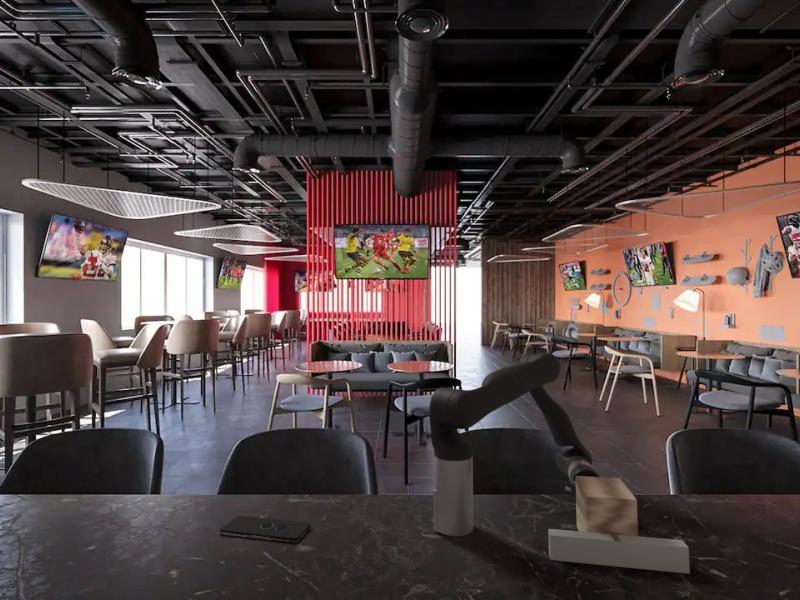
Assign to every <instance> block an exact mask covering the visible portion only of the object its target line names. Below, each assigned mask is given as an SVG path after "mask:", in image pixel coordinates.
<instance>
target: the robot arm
mask: <svg viewBox="0 0 800 600" xmlns="http://www.w3.org/2000/svg"><path fill="white" fill-rule="evenodd" d="M560 373H561V363H560V360H559V359H558V358H557V356H556V355H554V354H552V353H551V352H539V353H538V352H537V353H534V354H533V353H532V354H527V355H523V356H522V357H521V358H520V359H519V361H518V364H515V365H510V366H507V367H506V366H505V367H502V368H499V369H496V370H494V371H492V372H490V373H488V374H487V375H486V376H485V377H484V378H483V381H482V383H481V386H480V387H477V388H474V389H469V390H467V389H466V390H465V389H458V388H452V387H451V388H450V387H439V388H437V389H436V390H435V391H434V392H433V393H432V396H431V398H430V402H429V408H428V409H429V411H428V412H429V413H428V414H429V429H430V440H431V441H430V442H431V446H432V448H433V456H434V457H433V458H434V459H433V461H434V462H433V463H434V464H433V465H434V467H433V468H434V469H433V470H434V473H433V474H434V478H433V479H434V488H433V490H432V496H433V497H432V499H433V500H432V505H433V506H432V507H433V508H432V510H433V517H432V519H433V521H432V522H433V532H436V533H440V534H442V535H444V536H448V537H449V536H450V537H464V536H468V535H470V534H471V533H472V532H473V531H474V520H475V519H474V482H473V478H474V474H473V472H474V471H473V468H474V467H473V446H472V444H471V442H470V441H468V440H467V439H466V438H465V437H463V436H462V435H461V433H460V432H459V430H466V429H467V430H468V429H469V428H472V427H473V426H475V425H476V424H478V423H479V422H480V421H482V420H483V419H484V418H485V417H487V416H488V415H489V414H491V413H492V412H495V411H497V410H498V409H500V408H502V407H504V406H505V405H508V404H510V403H511V402H514V401H516V400H518V399H519V398H520V397H522V396H524V395H526V394H528V393H530V396H531V397H532V399H533V400H534V402H535V404H536V405H537V407H538V409H539V410H540V412H541V414H542V415H543V417H544V420H545V422H546V424H547V427H548V430H549V432H550V435H551V436H552V439H553V441H554V443H555V444H556V446H559V447H569V448H567V449H564V450H561V451H559V452H558V453H557V454H556V456H555V462H556V465H557V467H558V468H559V470H560V471H561V473H562V474H564V475H565V476H567V477H568V480H569V481H570V482H569V481H565V482H564V484H565V486H564V488H565V490H564V491H565V493H567V494H569V495H570V496H574V497H575V498H576V478H575V476H587V477H601V476H600V475H599V473H598V472H597V470H596V469H595V468H594V466H592V464H593V457H592V454H591V452H590V451H589V450H588V449H587V448H586V447H585V444H583V443H582V440H580V438H579V437H578V435H577V433H576V431H575V429H574V426H573V423H572V421H571V418H570V416H569V414H568V412H567V411H566V410H565V409H564V408H563V407H562V406H561V405H560V404H559V403H558V402H557V401H556V400H554V399H553V397H552V396H550V394H549V393H548V392H547V391H546V390H545V388H544V385H547V384H551V383H554V382H555V381H556V380H557V379H558V378H559V376H560Z"/></svg>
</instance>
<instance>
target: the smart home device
mask: <svg viewBox="0 0 800 600" xmlns="http://www.w3.org/2000/svg"><path fill="white" fill-rule="evenodd" d="M310 527H311V528H312V523H311V522H307V521H306V522H305V521H297V520H296V521H295V520H286V519H274V518H265V517H256V516H255V517H254V516H245V515H237V516H236V517H235V518H233V519H232V520H231V521H229V522H228V523H226V524H225V525H223V526H222V527H221V528H220V529H219V531H221V532H227V533H228V532H229V533H232V534H233V533H235V534H241V535H244V534H245V535H250V536H251V535H256V536H263V537H269V538H276V539H282V540H289V541H298V540H299V539H300V537H301V536H302V535H303V534H304V533H305V532H306V531H307V530H308V529H309V528H310Z"/></svg>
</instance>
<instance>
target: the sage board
mask: <svg viewBox="0 0 800 600" xmlns="http://www.w3.org/2000/svg"><path fill="white" fill-rule="evenodd" d="M547 531H548V533H547V534H548V554H549V559H550V560H551V561H557V562H568V563H578V564H579V563H580V564H589V565H590V564H591V565H598V566H608V567H619V568H626V569H627V568H628V569H629V568H630V569H639V570H649V571H657V572H659V571H660V572H669V573H680V574H691V573H690V572H691V571H690V569H691V568H690V549H689V548H690V547H689V546H688V545H687V544H686V542H685V541H684V540H683V539H672V538H661V537H659V538H658V537H649V536H648V537H647V536H639V535H638V536H627V535H617V534H613V533H610V534H604V533H592V532H580V531H579V530H566V529H555V528H554V529H553V528H548V530H547Z"/></svg>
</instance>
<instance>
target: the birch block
mask: <svg viewBox="0 0 800 600" xmlns="http://www.w3.org/2000/svg"><path fill="white" fill-rule="evenodd" d="M575 478H576V497H575V505H576V528H577V531H580V532H592V533H604V534H610V533H613V534H617V535H627V536H639V526H638V523H639V522H638V520H639V519H638V500H637V498H636V497H635V495H633V493H632V492H631V490H630V489H629V488H628V487H627V486H626V484H625V483H624V481H622V480H621V478H619V477H618V478H617V477H604V476H603V477H601V476H600V477H587V476H575Z"/></svg>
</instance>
